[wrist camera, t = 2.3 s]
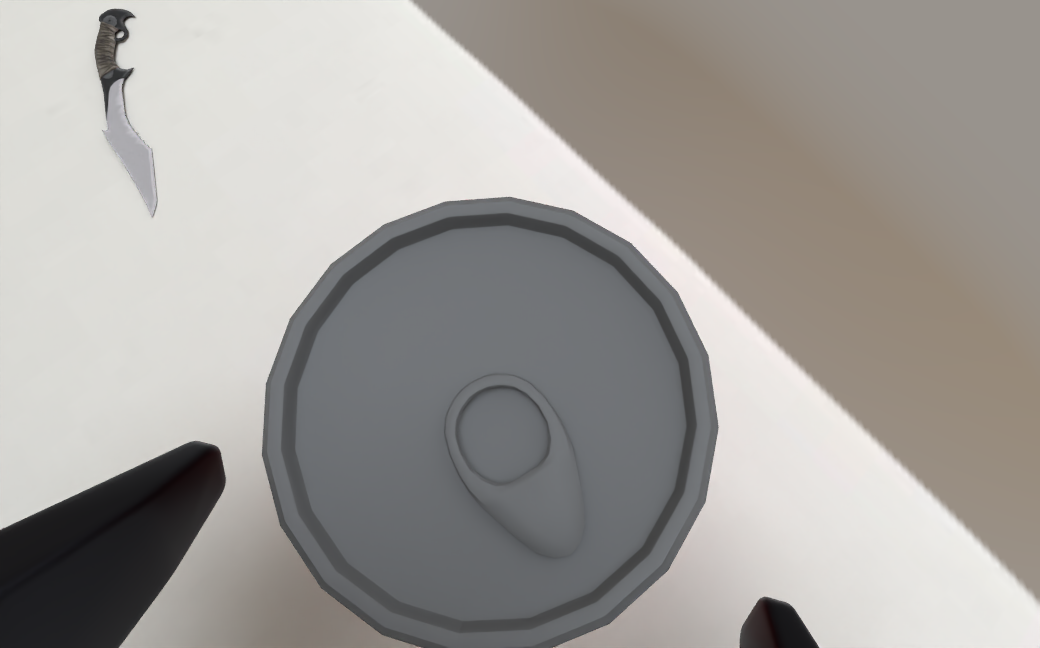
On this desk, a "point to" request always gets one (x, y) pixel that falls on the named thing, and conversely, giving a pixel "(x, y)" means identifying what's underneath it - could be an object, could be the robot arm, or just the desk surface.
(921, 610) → the desk surface
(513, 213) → the beer can
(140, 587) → the robot arm
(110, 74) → the knife
